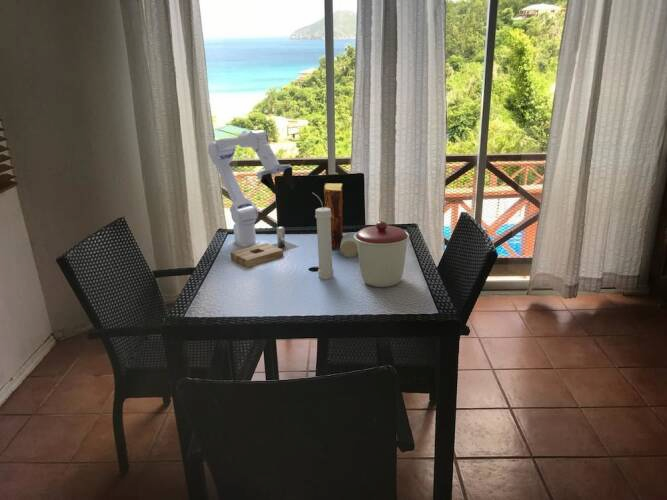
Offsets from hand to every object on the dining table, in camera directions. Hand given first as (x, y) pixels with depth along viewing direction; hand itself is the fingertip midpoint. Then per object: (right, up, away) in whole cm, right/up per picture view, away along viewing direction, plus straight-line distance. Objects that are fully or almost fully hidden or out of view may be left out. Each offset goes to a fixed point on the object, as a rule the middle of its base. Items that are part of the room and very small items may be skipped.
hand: (284, 190), depth 204 cm
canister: (+34, -33, -18) cm, 51 cm away
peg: (-3, -21, +20) cm, 29 cm away
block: (-11, -25, +9) cm, 29 cm away
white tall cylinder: (+15, -32, -11) cm, 37 cm away
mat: (-3, -21, +20) cm, 29 cm away
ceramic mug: (+26, -24, +9) cm, 37 cm away
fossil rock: (+19, -19, +23) cm, 35 cm away
